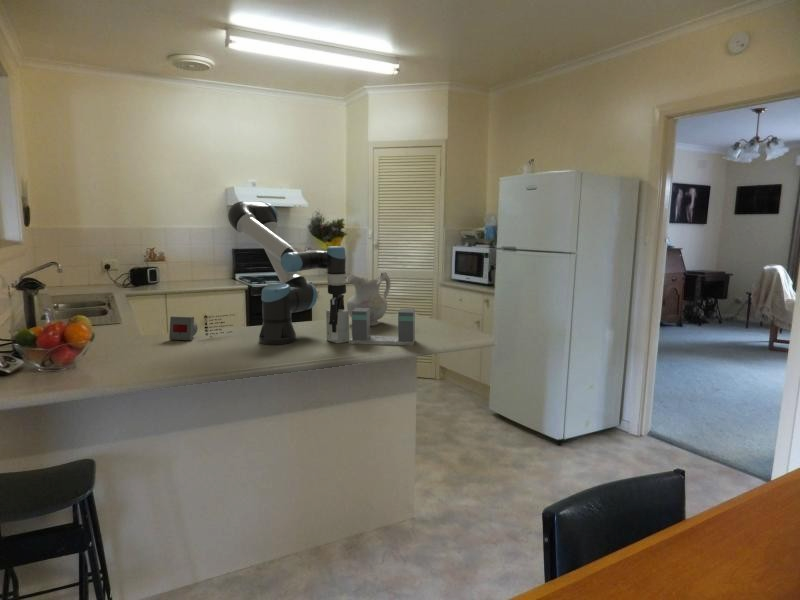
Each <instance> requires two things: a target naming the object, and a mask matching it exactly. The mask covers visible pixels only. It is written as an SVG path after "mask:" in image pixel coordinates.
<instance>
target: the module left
mask: <svg viewBox="0 0 800 600" xmlns="http://www.w3.org/2000/svg"><path fill="white" fill-rule="evenodd" d="M351 334H352V336H351V338H352V340H367V339H368V338H369V337H370V336H371V326H370V308H355V309H354V310H353V311H352V317H351Z"/></svg>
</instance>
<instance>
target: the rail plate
mask: <svg viewBox="0 0 800 600" xmlns="http://www.w3.org/2000/svg"><path fill="white" fill-rule="evenodd" d="M415 341H416V337H415V338H414V341H413V342H403V341H398V335H397V336H396V335H394V336H393V335H370V337H369V338H368V339H367V340H352V337H351V338H349V344H351V345H381V346H382V345H383V346H410V347H413V346H414V343H415Z"/></svg>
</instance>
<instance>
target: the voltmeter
mask: <svg viewBox="0 0 800 600" xmlns="http://www.w3.org/2000/svg"><path fill="white" fill-rule="evenodd" d="M231 316H235V313H234V314H231V313H230V314H224V315H215V316H214V315H213V316H211V315H210V316H207V315H204V321H205V322H204V324H205V326H204V332H205V336H206V337H207V336H209V335H210V338H212V335H215V334H216V335H218V334H219V332H216V331H220V334H223V332H221V331H222V328H225V327H233V326H234V324H226V325H220V324H225V323H226V322H225V321H222V318H221V317H231ZM215 317H217V318H218V319H217V318H215ZM208 318H215V319H210V322H209V324H208V320H207V319H208ZM169 321H170V322H169V323H170V324H169V335H168V339H169V340H172V341H192V340H193V341H194V336H196V334H197V332H198V324H197V322H196V321H195V317H194V316H180V315H178V316H170V320H169ZM212 321H220V322H212ZM215 324H216V325H217V326H216V325H215ZM218 324H219V325H220V328H221V329H220V328H219V326H218ZM208 325H213V326H208ZM212 328H216V329H212ZM209 329H210V330H209ZM212 331H215V332H212ZM209 332H212V333H209ZM227 333H233V331H232V330H231V331H227Z"/></svg>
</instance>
